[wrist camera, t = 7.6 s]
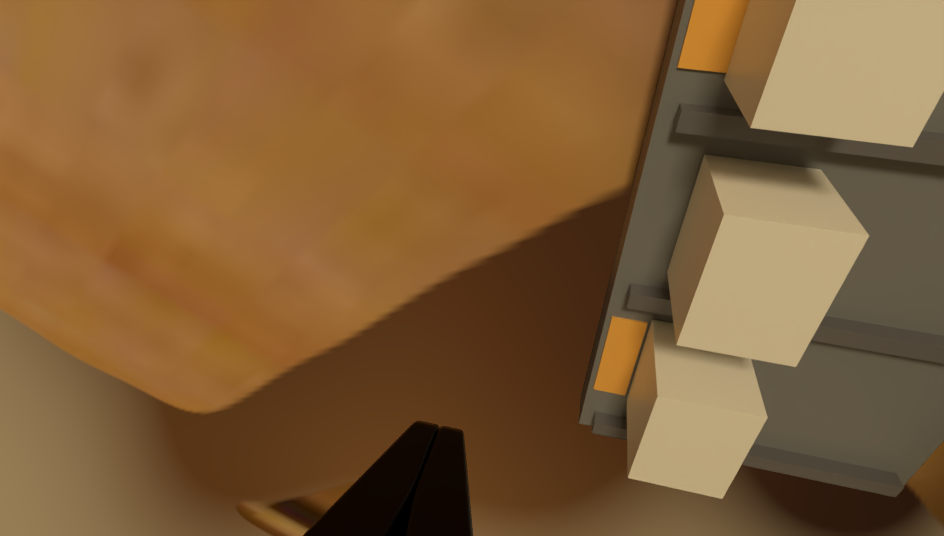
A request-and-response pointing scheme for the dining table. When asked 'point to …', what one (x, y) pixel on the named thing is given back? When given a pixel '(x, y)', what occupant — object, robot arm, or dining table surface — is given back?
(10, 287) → the dining table surface
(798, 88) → the tab
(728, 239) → the tab
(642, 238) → the switch bank
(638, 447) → the cream block
